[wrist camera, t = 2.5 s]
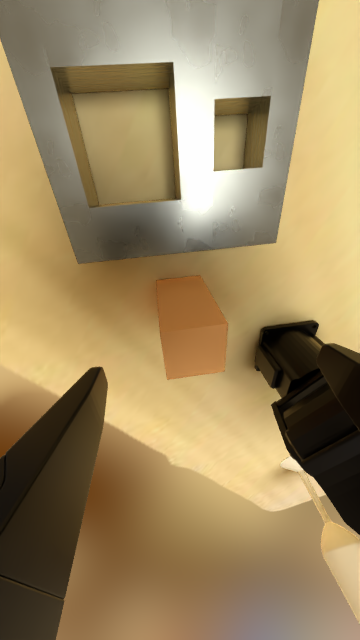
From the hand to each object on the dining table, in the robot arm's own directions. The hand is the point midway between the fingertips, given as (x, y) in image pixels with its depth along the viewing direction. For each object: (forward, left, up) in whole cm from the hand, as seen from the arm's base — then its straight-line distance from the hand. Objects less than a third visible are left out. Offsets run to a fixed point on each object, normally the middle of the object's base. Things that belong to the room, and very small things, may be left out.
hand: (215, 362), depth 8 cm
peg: (0, +3, -12) cm, 12 cm away
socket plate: (0, -8, -12) cm, 14 cm away
